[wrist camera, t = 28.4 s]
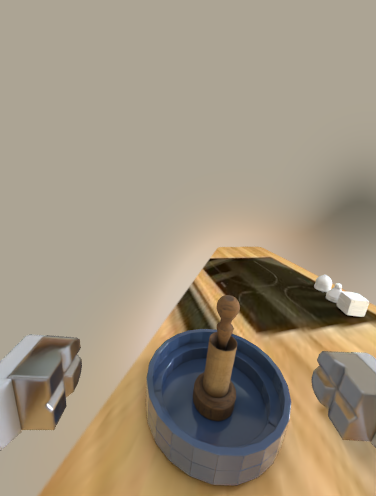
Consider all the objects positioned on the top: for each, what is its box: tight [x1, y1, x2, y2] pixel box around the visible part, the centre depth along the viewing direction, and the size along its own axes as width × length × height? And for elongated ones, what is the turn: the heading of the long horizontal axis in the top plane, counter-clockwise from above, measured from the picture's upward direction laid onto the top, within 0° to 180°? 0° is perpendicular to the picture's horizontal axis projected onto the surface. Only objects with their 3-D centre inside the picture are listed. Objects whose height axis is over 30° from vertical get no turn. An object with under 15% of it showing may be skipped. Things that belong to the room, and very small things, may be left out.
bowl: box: [146, 329, 291, 485], centre depth 34 cm, size 21×21×6 cm
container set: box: [314, 275, 369, 317], centre depth 72 cm, size 20×5×6 cm, turn 178°
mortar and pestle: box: [193, 295, 240, 421], centre depth 32 cm, size 7×6×18 cm
